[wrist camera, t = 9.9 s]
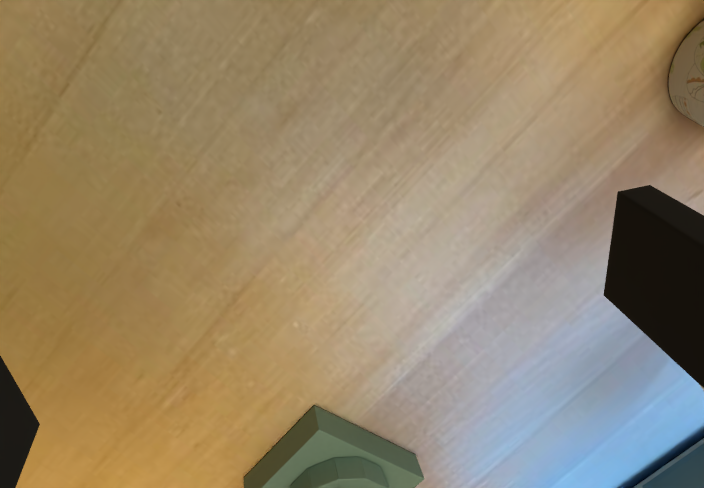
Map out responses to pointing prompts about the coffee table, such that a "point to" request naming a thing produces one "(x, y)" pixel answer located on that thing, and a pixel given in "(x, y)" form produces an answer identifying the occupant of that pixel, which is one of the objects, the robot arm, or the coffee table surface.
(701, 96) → the mug
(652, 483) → the white and blue toaster
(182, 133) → the coffee table surface
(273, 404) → the coffee table surface
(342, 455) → the button box
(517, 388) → the coffee table surface
